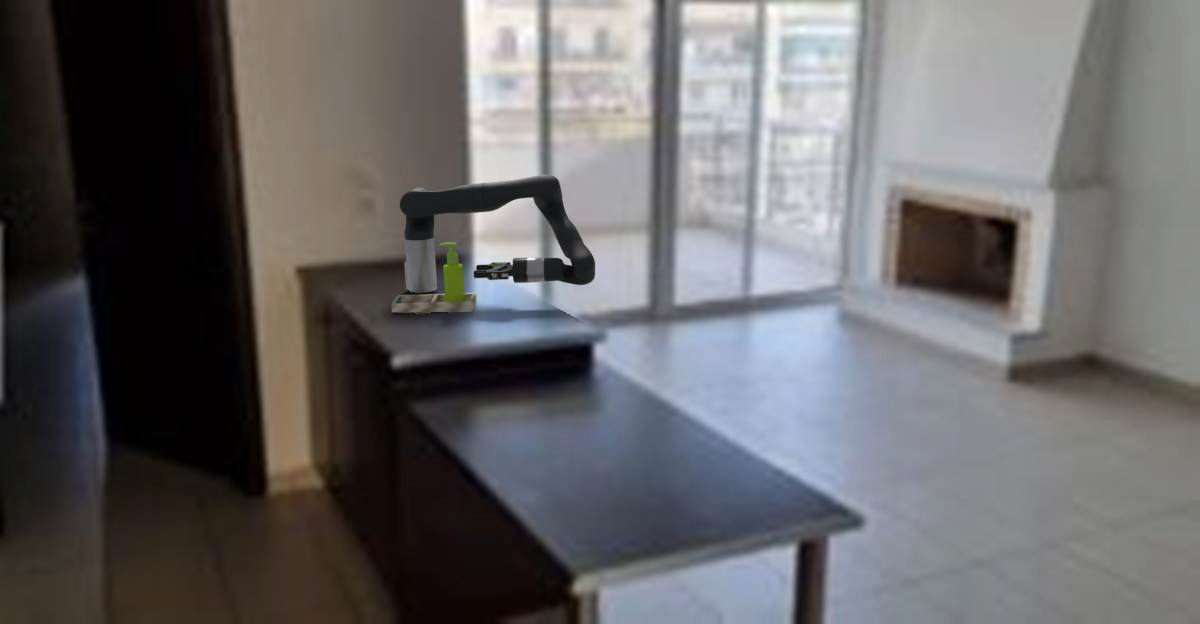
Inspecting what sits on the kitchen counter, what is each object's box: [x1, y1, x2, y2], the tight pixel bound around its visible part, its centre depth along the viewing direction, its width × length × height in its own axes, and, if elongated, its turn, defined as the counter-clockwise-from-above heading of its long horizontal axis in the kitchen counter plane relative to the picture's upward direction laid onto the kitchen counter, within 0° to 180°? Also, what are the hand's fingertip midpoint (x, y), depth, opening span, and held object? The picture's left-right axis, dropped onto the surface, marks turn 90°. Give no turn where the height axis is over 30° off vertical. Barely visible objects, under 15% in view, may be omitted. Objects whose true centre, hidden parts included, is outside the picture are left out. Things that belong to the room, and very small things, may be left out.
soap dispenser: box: [438, 241, 466, 302], centre depth 313 cm, size 6×7×20 cm
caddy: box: [390, 292, 477, 314], centre depth 315 cm, size 24×12×3 cm, turn 92°
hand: (475, 271), depth 313 cm, fingers open, 8 cm apart
